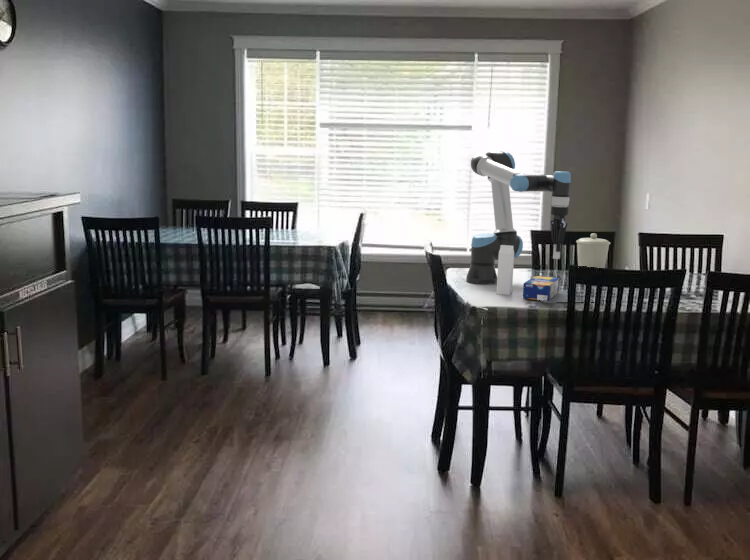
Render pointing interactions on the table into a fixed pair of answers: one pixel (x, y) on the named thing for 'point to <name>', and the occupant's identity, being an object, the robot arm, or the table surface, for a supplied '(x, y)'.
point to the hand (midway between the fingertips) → (556, 258)
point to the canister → (592, 251)
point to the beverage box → (541, 288)
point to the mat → (558, 297)
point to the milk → (505, 269)
